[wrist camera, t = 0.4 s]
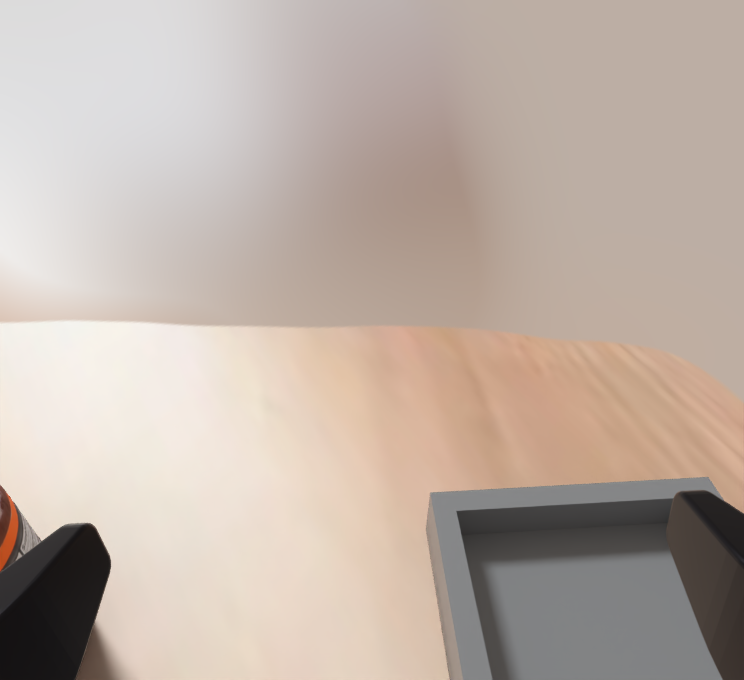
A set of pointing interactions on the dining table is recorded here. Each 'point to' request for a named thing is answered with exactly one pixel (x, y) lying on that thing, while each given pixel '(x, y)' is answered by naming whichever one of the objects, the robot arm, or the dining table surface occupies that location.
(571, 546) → the tray
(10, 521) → the supplement bottle
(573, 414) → the dining table surface
